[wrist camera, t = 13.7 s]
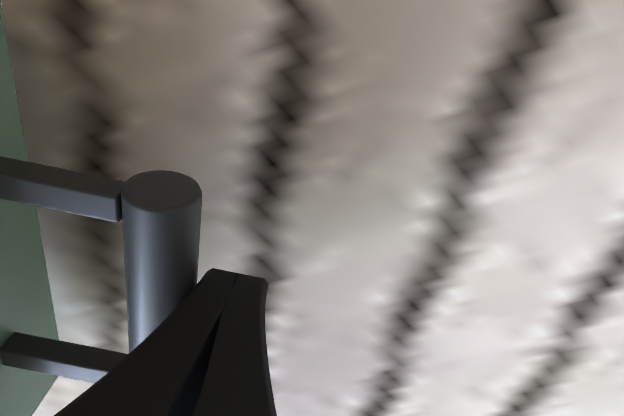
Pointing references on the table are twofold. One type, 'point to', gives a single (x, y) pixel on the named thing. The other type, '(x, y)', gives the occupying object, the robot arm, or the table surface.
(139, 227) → the drawer
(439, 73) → the table surface
